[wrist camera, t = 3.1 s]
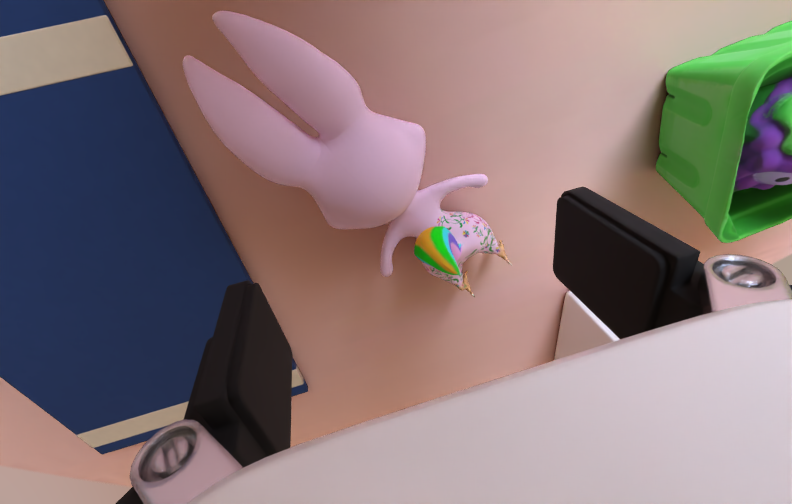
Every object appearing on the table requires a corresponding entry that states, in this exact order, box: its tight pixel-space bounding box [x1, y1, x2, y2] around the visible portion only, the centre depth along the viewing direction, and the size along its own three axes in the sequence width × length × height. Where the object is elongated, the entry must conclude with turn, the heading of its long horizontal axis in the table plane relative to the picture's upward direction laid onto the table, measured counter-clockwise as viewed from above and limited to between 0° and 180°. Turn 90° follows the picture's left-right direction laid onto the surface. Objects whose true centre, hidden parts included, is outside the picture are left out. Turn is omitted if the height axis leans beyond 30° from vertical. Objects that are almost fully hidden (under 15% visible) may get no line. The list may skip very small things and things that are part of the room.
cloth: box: [0, 0, 308, 454], centre depth 16 cm, size 20×12×1 cm, turn 10°
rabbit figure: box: [183, 11, 512, 297], centre depth 14 cm, size 6×6×15 cm
